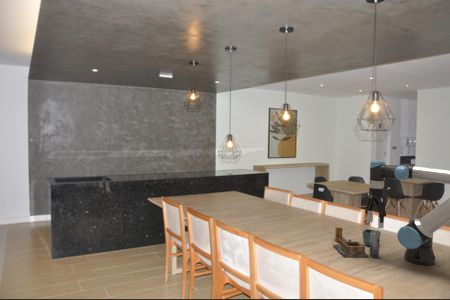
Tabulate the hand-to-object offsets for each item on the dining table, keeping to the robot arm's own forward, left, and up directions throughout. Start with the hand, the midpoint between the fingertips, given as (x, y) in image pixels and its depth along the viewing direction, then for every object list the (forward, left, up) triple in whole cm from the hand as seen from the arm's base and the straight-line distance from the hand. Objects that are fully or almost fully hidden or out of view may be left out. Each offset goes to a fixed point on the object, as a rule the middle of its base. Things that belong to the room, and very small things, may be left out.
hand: (375, 224), depth 193 cm
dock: (+11, -7, -18) cm, 22 cm away
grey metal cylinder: (0, 0, -18) cm, 18 cm away
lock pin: (+11, -19, -18) cm, 28 cm away
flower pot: (-7, -20, -18) cm, 28 cm away
